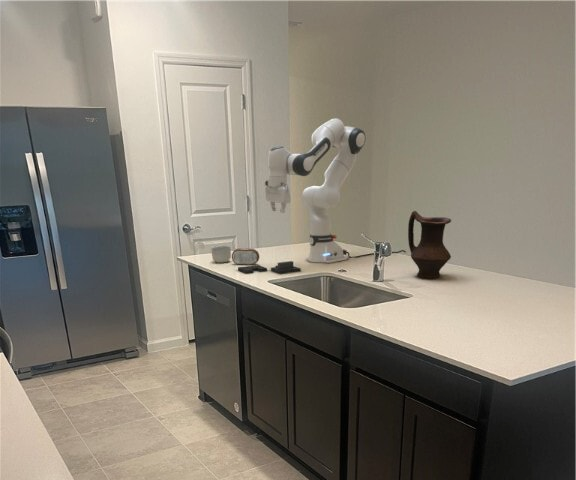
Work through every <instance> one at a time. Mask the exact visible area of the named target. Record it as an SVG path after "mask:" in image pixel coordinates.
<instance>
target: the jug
mask: <svg viewBox="0 0 576 480" xmlns="http://www.w3.org/2000/svg"><path fill="white" fill-rule="evenodd" d="M415 221H416V222H418V223H420V228H421V229H420V231H421V232H420V240H419V242H418V244H417V246H416V245H415V239H414V238H415V236H414V235H415V233H414V230H415V229H414V228H415V227H414V226H415ZM451 222H452V219H451V218H448V217H445V216H444V217H443V216H441V217H440V216H439V217H438V216H437V217H433V216H432V217H428V216H427V217H426V216H422V215H421V214H419V213H418V211H417V210H413V211H412V212H411V214H410V216H409V219H408V226H407V227H408V228H407V239H408V240H407V241H408V247H409V252H410V258H411V260H412V261H413V262H414V264H415V266H417V268H418V272H417V273H416V277H417V278H420V279H426V280H427V279H428V280H431V279H432V280H433V279H438V278H440V277H441V276H442V274H441V273H440V271H441V270H442V268H443V267H444V266H445V265H446V264H447V263H448V262H449V261H450V260H451V258H452V256H451V254H450V252H449V251H448V249H447V248H446V246H445V244H444V232H445V227H446V225H448V224H450V223H451Z"/></svg>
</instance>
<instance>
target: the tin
mask: <svg viewBox="0 0 576 480" xmlns="http://www.w3.org/2000/svg"><path fill="white" fill-rule="evenodd" d="M259 260H260V254H259V251H258V250H256V249H255V248H236V249H234V250H233V251H232V252H231V261H232V262H233V263H234V264H236V265H239V266H240V265H241V266H242V265H245V266H247V265H248V266H254V265H257V263H258V262H259Z"/></svg>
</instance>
